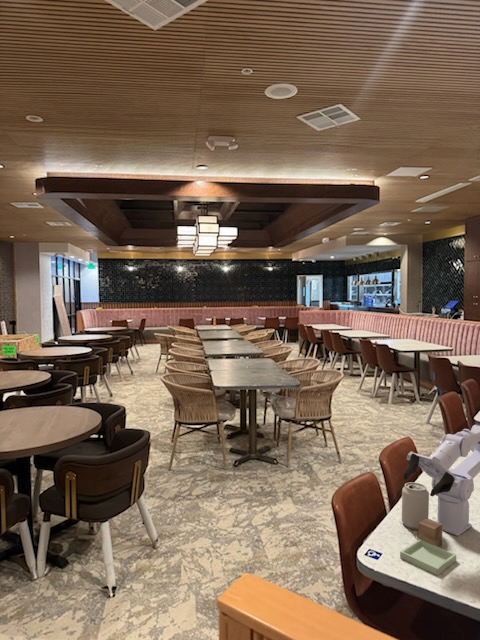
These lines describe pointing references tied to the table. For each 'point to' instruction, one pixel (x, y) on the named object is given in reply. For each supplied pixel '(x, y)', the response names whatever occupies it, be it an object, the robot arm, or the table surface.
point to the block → (430, 532)
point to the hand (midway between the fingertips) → (418, 484)
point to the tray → (428, 556)
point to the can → (414, 504)
